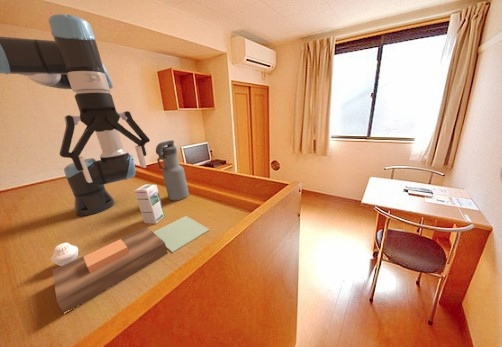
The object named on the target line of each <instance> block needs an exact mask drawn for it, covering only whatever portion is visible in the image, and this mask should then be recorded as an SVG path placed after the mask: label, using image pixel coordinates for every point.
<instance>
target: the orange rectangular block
mask: <svg viewBox="0 0 502 347" xmlns="http://www.w3.org/2000/svg"><path fill="white" fill-rule="evenodd" d="M119 239H120V240H119ZM119 239H117V240H118V241H117V240H115V242H114V241H112V242H113V243H112V242H111V244H110V243H109V245H108V244H106V245H107V246H106V245H104V246H105V247H104V246H102V247H100V249H99V248H97V249H98V250H97V249H96V251H95V250H93V251H94V252H93V251H91V252H92V253H91V252H89V253H90V254H89V253H87V255H86V254H85V256H84V255H83V257H84V260H85V262H86V265H87V267H88V269H89V272H90V273H92V272H94V271H96V270H98V269H99V268H101V267H103V266H105V265H107V264H109V263H111V262H113V261H115V260H117V259H119V258H121V257H122V256H124V255H126V254H128V253H129V251H128V248H127V246H126V245H125V244H124V242H123V241H122V240H121V238H119Z"/></svg>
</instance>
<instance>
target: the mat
mask: <svg viewBox="0 0 502 347" xmlns="http://www.w3.org/2000/svg"><path fill="white" fill-rule="evenodd" d="M152 232H153V233H155V234H156V235H157V236H158V237H159V238H160V239H162V240H163V241H164V242H165V245H166V248H167V250H168V251H170V252H171V253H175V252H176V251H179V250H180V248H183V247H184V246H186V245H187V244H189V243H191V242H192V241H195V240H196V239H197V238H200V237H201V236H203V235H204V234H206V233H208V232H210V229H209V228H208V227H206V226H205V225H203V224H201V223H199V222H197V221H196V220H194V219H193V218H190V217H189V216H187V215H185V216H183V217H181V218H178V219H177V220H175V221H172V222H170V223H168V224H167V225H165V226H163V227H160V228H159V229H157V230H155V231H152Z"/></svg>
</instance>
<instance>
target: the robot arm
mask: <svg viewBox="0 0 502 347" xmlns="http://www.w3.org/2000/svg"><path fill="white" fill-rule="evenodd" d="M48 24H49V28H50V30H51V36H52V37H53V40H47V39H36V38H35V39H33V38H20V37H10V36H9V37H8V36H0V74H4V75H9V74H10V75H11V74H12V75H21V76H24V77H27V78H28V79H29V80H31V81H32V82H34V83H35V84H37V85H41V86H46V87H49V88H55V89H59V90H61V89H62V90H72V92H73V93H75V94H74V99H75V102H76V106H77V107H78V108H77V109H78V112H79V115H75V116H74V115H70V114H68V115H66V116H64V121H65V129H64V134H63V138H62V140H61V141H62V142H61V146H60V151H59V156H60V157H61V158H64V159H65V158H68V159H71V160H72V163H69V164H68V165H66V166H64V168H63V172H64V175H65V178H66V180H67V182H68V185H69V187H70V189H71V192H72V194H73V196H74V212H75V215H76V216H78V217H83V216H84V217H85V216H90V215H95V214H97V213H100V212H104V211H105V210H108V209H110V208H111V207H112V206H114V204H115V200H114V198H113V197H112V195H111V194H110V193H109V192H108V190H106V188H105V185H109V184H111V183H115V182H121V181H125V180H129V179H132V178H134V177H135V176H136V165H135V160H134V159H135V158H134V156H133V154H130V153H129V151H128V150H126V149H125V148H124V146H123V142H122V140H121V136H120V134H122V135H123V136H124V137H126V138H128V139H129V140H130V141H132V142H133V143H134V144H136V145H134V148H135V152H136V155H137V159H138V162H139V166H140V168H142V169H143V168H144V169H145V168H147V163H146V160H145V156H147V150H146V148H145V145H146V144H147V143H149V142H150V141H151V140H150V139H151V138H149V137H148V135H147V134H146V133H145V132H144V131H143V130H142V128H141V127H140V126H139V125H138V124H137V122H136V121H135V120H134V119H133V116H132V114H131V112H130V111H127V110H126V111H123V112H120V113H119V112H118V111H117V109H116V105H115V102H114V99H113V98H114V97H113V95H112V94H111V89H113V87H114V86H113V83H112V81H111V78H110V75H109V72H108V71H107V67H106V66H105V65H104V63H103V61H102V58H101V54H100V52H99V49H98V45H97V42H96V36H95V35H94V32H93V28H92V26H91V24H90V23H89V22H88V21H87V20H85V19H84V18H81V17H78V16H76V15H71V14H62V13H59V14H58V13H57V14H53V15H51V16H49V18H48ZM120 119H122V121H125V122H126V123H127V125H129V127H130V128H131V129H132V130H133V131H134V133H135V134H136V135H137V136H138V137H137V136H136V135H135V134H133V133H132V132H131V131H129V130H128V129H127V128H125V127H124V126H123V125H122V124H121V123H119V121H120ZM79 122H82V123H83V124H84V125H85V126H86V127H85V129H84V131H83V133H82V134H81V136H80V138H79V139H78V141H77V143H76V144H75V146H74V148H73V149H72V151H71V152H70V148H71V144H72V141H73V136H74V133H75V132H74V131H75V128H76V127H75V126H77V125H78V124H79ZM94 132H95V134H96V137H97V140H98V143H99V147H100V149H101V153H100V154H99V158H100V159H99V160H97V159H95V158H94V157H91V158H84V156H80V155H81V153H82V152H83V150H84V149H85V147H86V145H87V143H88V142H89V140H90V139H91V137H92V136H93V134H94Z"/></svg>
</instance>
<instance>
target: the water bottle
mask: <svg viewBox="0 0 502 347" xmlns="http://www.w3.org/2000/svg"><path fill="white" fill-rule="evenodd" d="M155 153H156V155H157V156H158V158H157V159H156V161H157V164H158V167H159V169H161V170H162V171H161V172H162V177H163V181H164V185H165V189H166V192H167V197H168V199H169V200H171V201H175V202H176V201H181V200H184V199H186V198H187V197H188V196H189V187H188V182H187V179H186V172H185V168H184V167H183V166H182V165H180V161H179V157H178V150H177V147H176V146H175V140H167V141H166V140H164V141H162V142H160V143H158V144H157V145H156V147H155ZM161 160H163V165H164V167H163V166H162V165H161V162H160V161H161Z"/></svg>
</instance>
